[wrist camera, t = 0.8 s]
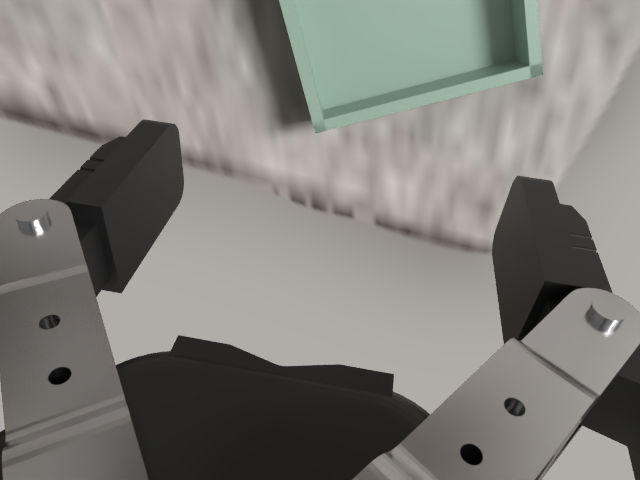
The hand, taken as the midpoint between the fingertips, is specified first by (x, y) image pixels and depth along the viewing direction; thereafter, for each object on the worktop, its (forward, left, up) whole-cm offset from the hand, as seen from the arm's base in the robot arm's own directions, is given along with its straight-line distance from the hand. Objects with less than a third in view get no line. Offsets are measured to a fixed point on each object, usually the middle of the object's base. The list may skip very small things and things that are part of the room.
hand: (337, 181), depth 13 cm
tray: (+1, +5, -19) cm, 20 cm away
